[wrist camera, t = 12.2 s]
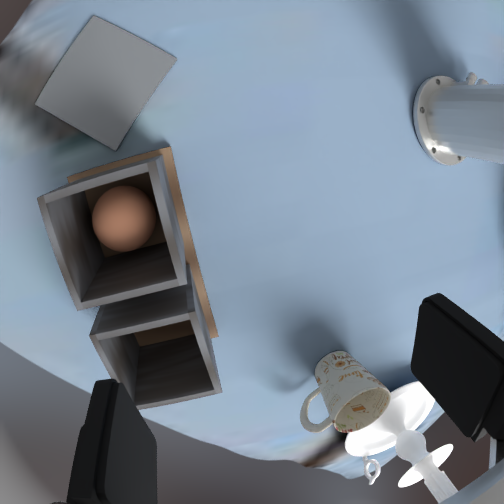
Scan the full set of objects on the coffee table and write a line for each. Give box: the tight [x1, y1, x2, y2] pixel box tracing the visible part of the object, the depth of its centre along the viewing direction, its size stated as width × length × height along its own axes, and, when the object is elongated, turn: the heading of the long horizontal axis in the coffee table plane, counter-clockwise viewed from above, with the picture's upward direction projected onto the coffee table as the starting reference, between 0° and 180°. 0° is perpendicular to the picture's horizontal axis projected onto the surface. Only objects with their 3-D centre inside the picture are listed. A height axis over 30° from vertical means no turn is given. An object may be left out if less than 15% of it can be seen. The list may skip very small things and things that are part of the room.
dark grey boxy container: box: [37, 146, 222, 410], centre depth 29 cm, size 22×11×11 cm, turn 10°
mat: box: [35, 16, 177, 151], centre depth 26 cm, size 11×11×1 cm
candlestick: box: [345, 381, 458, 503], centre depth 41 cm, size 21×25×28 cm
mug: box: [300, 351, 391, 433], centre depth 40 cm, size 8×13×10 cm, turn 136°
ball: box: [92, 186, 156, 252], centre depth 28 cm, size 6×6×6 cm
